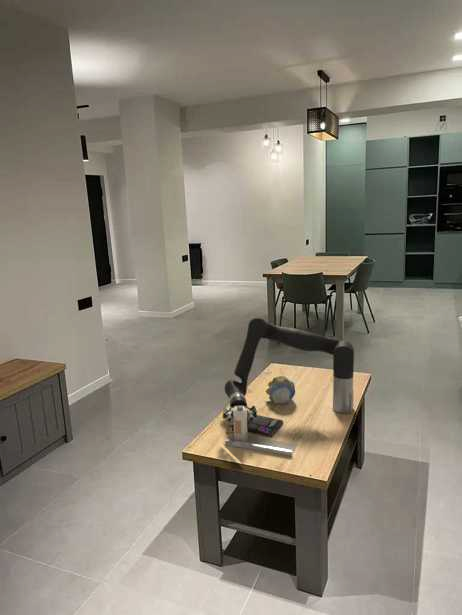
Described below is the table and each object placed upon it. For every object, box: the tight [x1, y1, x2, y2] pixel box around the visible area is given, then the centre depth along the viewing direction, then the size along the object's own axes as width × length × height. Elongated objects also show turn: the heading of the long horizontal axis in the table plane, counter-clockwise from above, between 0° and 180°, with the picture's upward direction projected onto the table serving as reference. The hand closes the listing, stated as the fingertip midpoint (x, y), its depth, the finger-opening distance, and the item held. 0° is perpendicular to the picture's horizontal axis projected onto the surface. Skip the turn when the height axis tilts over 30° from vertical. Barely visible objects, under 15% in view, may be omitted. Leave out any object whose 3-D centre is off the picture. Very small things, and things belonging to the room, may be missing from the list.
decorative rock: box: [265, 375, 296, 405], centre depth 232 cm, size 14×16×15 cm
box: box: [230, 414, 284, 438], centre depth 206 cm, size 14×4×20 cm
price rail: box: [224, 438, 293, 457], centre depth 186 cm, size 28×1×2 cm, turn 68°
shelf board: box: [226, 433, 298, 458], centre depth 190 cm, size 28×10×1 cm, turn 68°
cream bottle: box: [233, 406, 249, 442], centre depth 192 cm, size 6×6×15 cm
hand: (240, 420), depth 189 cm, fingers open, 8 cm apart
